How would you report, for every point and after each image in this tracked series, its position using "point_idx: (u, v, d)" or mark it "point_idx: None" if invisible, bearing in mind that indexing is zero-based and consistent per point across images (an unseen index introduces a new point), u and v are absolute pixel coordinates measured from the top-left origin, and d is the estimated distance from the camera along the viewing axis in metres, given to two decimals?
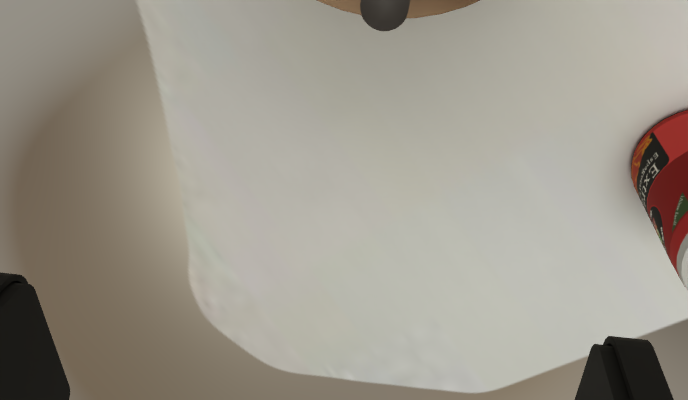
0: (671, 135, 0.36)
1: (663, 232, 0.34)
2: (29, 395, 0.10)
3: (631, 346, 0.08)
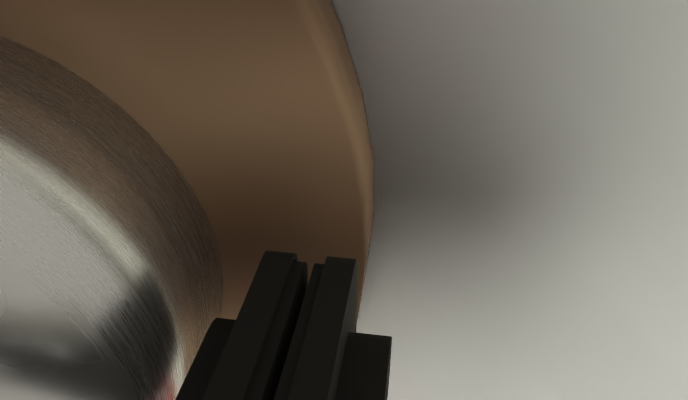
0: None
1: None
2: None
3: (337, 262, 0.10)
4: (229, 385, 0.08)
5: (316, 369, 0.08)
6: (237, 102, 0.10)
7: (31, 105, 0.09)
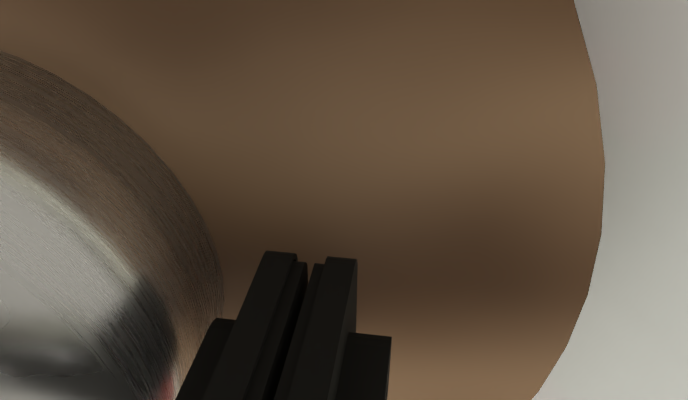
0: None
1: None
2: None
3: (337, 262, 0.10)
4: (229, 385, 0.08)
5: (316, 369, 0.08)
6: (489, 123, 0.10)
7: (32, 118, 0.10)
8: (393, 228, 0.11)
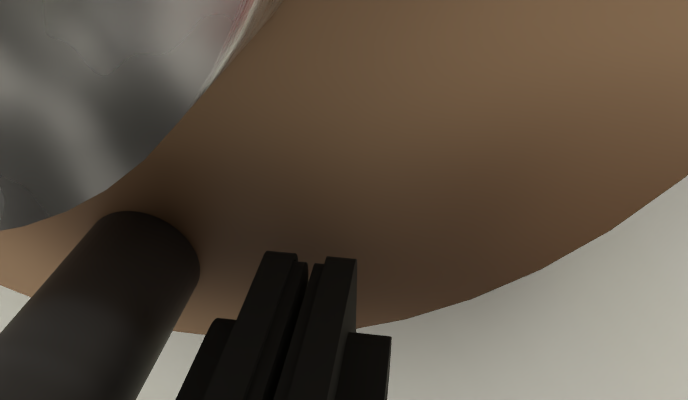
0: None
1: None
2: None
3: (336, 262, 0.10)
4: (229, 385, 0.08)
5: (316, 369, 0.08)
6: None
7: None
8: None
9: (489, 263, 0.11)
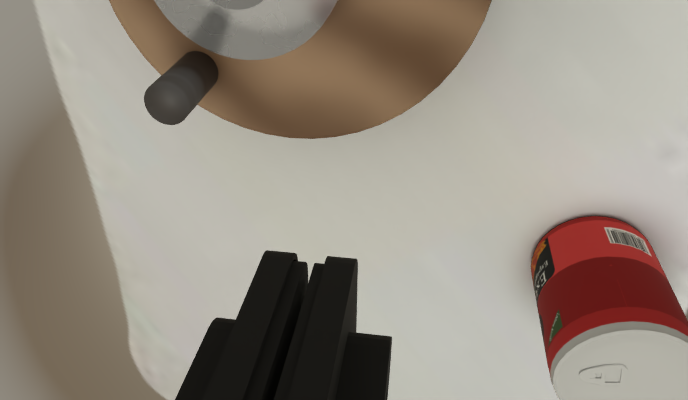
0: (560, 244, 0.39)
1: (544, 343, 0.36)
2: None
3: (337, 262, 0.10)
4: (229, 385, 0.08)
5: (316, 369, 0.08)
6: (452, 11, 0.32)
7: None
8: (403, 25, 0.33)
9: (300, 129, 0.37)
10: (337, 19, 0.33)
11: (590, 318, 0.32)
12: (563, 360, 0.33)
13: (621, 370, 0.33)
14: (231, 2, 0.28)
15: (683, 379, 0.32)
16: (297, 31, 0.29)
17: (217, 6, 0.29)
